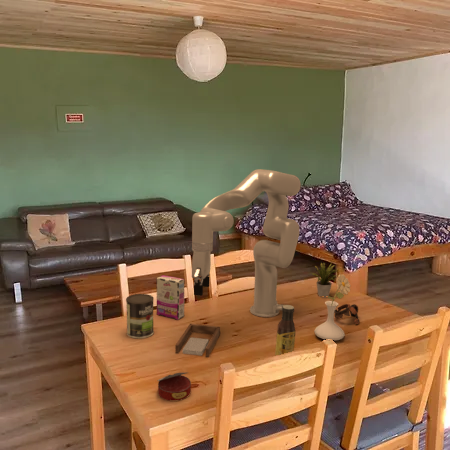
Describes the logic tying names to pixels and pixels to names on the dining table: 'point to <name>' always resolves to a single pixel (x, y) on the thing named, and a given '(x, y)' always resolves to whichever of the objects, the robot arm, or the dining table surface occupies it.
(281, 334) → the sauce bottle
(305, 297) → the dining table surface
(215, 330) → the brown u-shaped frame
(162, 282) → the candy bar box
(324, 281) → the house plant
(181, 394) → the canned food
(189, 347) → the cover plate
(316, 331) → the flower in vase
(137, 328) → the coffee can
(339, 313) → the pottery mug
